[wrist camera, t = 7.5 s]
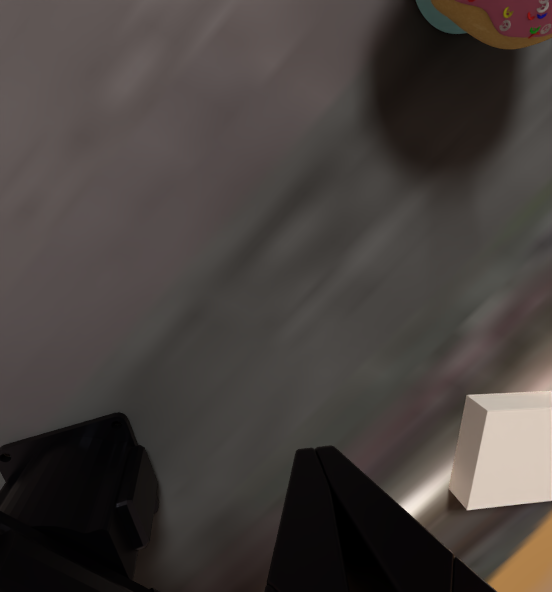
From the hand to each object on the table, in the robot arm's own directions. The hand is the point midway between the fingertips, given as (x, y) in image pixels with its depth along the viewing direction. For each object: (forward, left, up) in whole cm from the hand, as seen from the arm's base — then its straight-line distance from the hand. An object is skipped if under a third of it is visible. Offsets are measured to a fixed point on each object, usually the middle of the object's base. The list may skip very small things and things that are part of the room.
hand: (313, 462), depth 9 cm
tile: (+11, -13, -12) cm, 21 cm away
